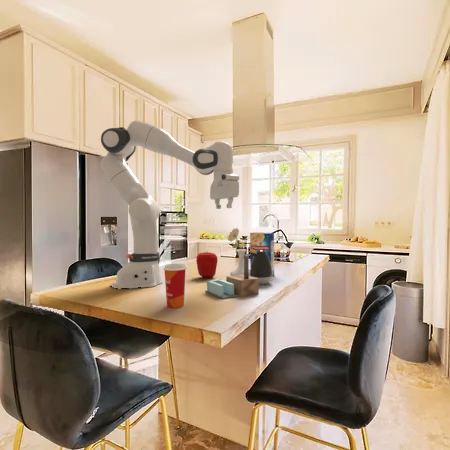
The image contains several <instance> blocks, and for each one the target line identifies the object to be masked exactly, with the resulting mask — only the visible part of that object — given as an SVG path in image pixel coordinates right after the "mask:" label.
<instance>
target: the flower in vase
mask: <svg viewBox="0 0 450 450" xmlns="http://www.w3.org/2000/svg"><path fill="white" fill-rule="evenodd" d="M239 232H240V229H239V228H238V227H236V228H233V229H232V230H231V231H230V232H229V234H228V236H227V238H228V239H227V241H229V242H230V243H231V242H233V241H235V240H236V242H237V243H234V244H233V245H232V246H231V247H232V248H233V249H236V253H237V254H238V261H239V262H238V265H237V266H236V267H235V268H233V269H232V270H231V271H230V272H229V273H230V275H229V276H233V275H241V274H243V275H244V255H245V253H246V252H247V249H241V248H243V247H245V242H244V241H243V242H242V243H239V240H238V236H239ZM237 247H238V248H239V249H237ZM249 276H250V269H249Z"/></svg>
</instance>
